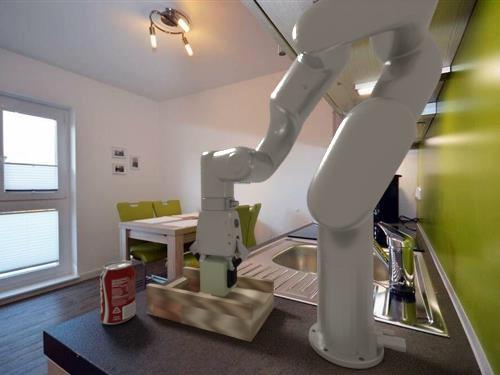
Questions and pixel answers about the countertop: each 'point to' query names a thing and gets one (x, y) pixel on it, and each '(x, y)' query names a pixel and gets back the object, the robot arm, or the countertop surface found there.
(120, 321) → the soda can
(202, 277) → the sage block
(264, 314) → the channel track
